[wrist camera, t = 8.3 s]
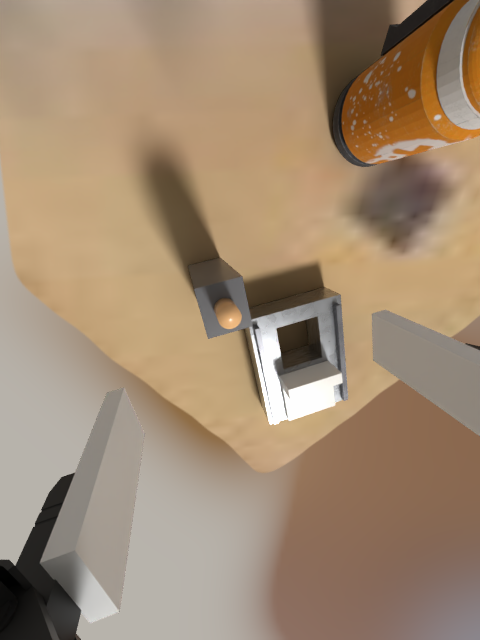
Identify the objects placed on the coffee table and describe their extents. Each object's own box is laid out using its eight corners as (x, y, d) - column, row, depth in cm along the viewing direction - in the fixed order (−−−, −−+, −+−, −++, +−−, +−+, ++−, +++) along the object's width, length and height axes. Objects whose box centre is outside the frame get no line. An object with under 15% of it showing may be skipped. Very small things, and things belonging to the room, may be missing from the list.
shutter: (279, 375, 36) (288, 390, 33) (328, 360, 37) (341, 373, 34) (286, 417, 39) (296, 434, 36) (332, 401, 40) (345, 417, 37)
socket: (240, 310, 36) (249, 323, 32) (324, 287, 38) (344, 296, 33) (261, 406, 42) (271, 428, 38) (333, 382, 44) (351, 401, 39)
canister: (330, 172, 33) (526, 113, 15) (328, 53, 29) (597, -238, 10) (397, 163, 34) (653, 98, 16) (404, 48, 30) (760, -218, 12)
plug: (187, 265, 33) (196, 296, 20) (220, 257, 33) (249, 282, 20) (197, 300, 35) (211, 351, 21) (228, 292, 35) (260, 336, 22)
